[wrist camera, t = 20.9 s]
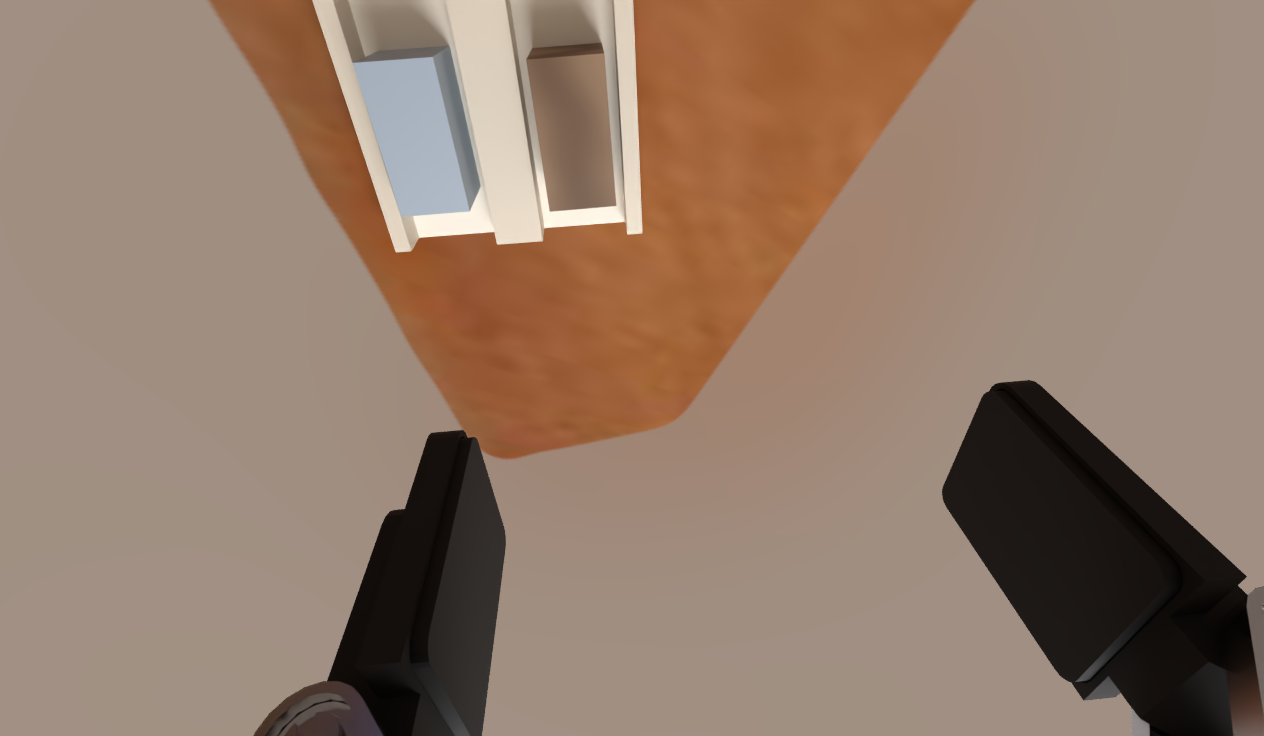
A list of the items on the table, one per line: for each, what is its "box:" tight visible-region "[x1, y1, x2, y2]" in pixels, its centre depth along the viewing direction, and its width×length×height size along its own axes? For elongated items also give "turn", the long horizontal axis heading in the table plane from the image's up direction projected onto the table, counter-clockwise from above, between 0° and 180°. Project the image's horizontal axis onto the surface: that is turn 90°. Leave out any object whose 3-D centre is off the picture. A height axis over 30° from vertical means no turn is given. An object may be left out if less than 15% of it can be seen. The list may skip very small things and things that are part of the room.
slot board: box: [312, 0, 642, 252], centre depth 33 cm, size 16×14×3 cm
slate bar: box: [353, 46, 481, 217], centre depth 32 cm, size 4×8×4 cm, turn 3°
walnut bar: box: [526, 43, 616, 212], centre depth 32 cm, size 4×8×4 cm, turn 4°
